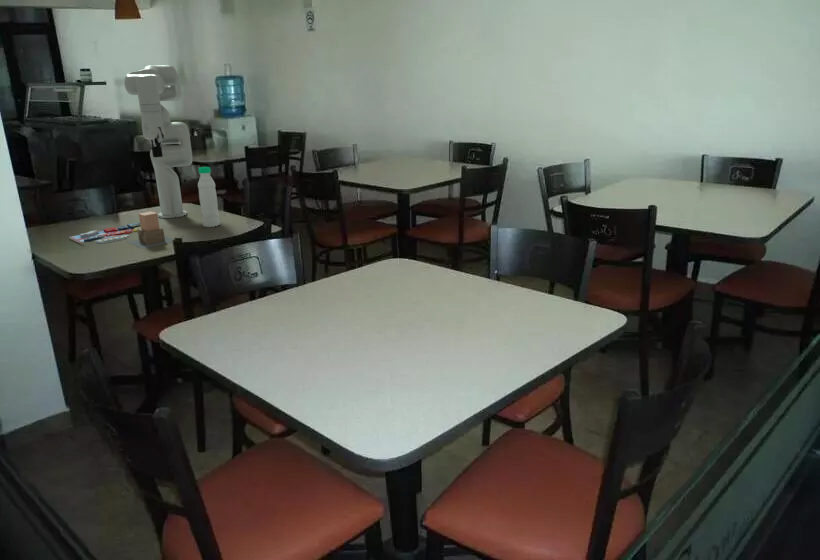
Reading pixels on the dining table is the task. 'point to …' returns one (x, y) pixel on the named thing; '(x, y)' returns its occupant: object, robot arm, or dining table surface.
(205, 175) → the water bottle
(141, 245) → the mat
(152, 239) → the base block
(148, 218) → the top block
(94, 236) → the puzzle board
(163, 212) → the robot arm
